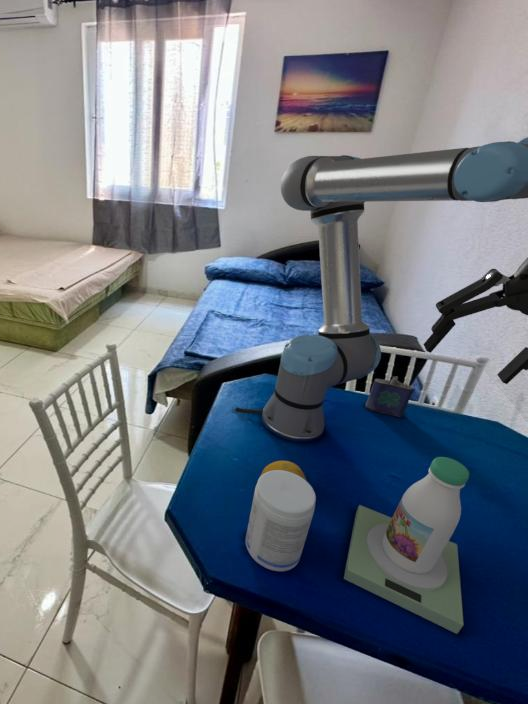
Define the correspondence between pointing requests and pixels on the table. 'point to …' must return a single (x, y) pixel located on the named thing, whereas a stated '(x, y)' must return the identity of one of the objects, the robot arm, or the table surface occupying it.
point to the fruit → (284, 468)
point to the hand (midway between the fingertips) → (463, 363)
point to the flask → (389, 396)
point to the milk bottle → (426, 517)
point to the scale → (404, 574)
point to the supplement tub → (279, 519)
